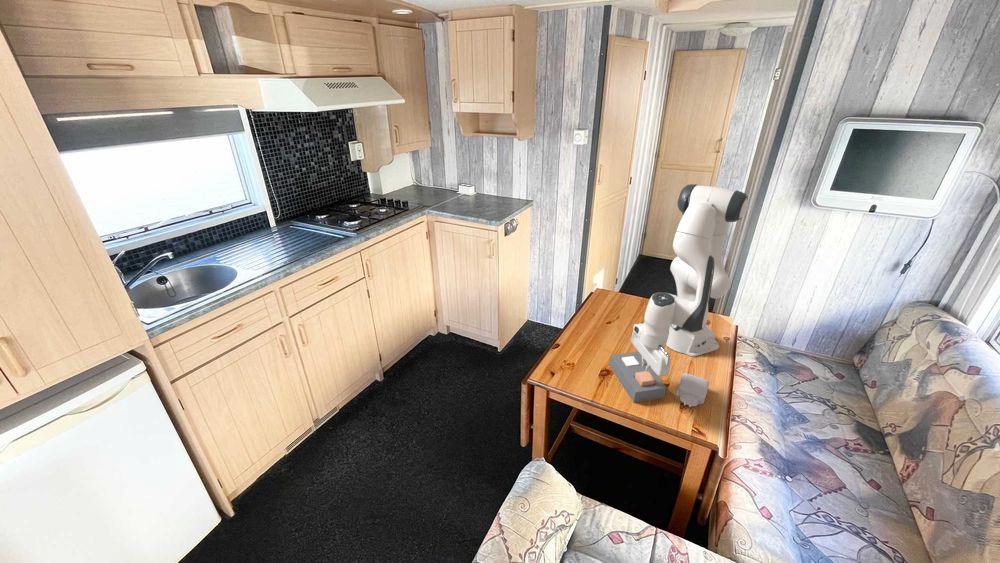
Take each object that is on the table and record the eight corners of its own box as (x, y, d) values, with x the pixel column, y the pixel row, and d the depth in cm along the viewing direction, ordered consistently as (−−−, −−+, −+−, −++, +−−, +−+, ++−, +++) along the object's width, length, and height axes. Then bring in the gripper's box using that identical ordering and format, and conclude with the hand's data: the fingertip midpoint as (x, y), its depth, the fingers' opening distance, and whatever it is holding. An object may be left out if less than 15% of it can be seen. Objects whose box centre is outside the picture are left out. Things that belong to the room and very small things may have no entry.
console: (636, 361, 165) (638, 351, 162) (663, 397, 146) (666, 387, 144) (608, 365, 163) (610, 355, 160) (633, 402, 144) (635, 392, 142)
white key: (632, 362, 161) (633, 356, 159) (638, 370, 156) (639, 364, 155) (620, 363, 160) (621, 357, 159) (626, 371, 156) (627, 365, 154)
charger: (672, 405, 143) (680, 381, 154) (699, 416, 139) (706, 390, 150) (674, 396, 141) (683, 371, 152) (703, 406, 137) (710, 381, 148)
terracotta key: (646, 377, 150) (648, 370, 149) (653, 386, 146) (655, 379, 145) (634, 378, 150) (635, 372, 148) (640, 388, 145) (642, 381, 144)
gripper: (679, 355, 130) (669, 387, 136) (647, 320, 147) (640, 351, 154) (661, 357, 128) (652, 389, 135) (631, 322, 146) (625, 352, 153)
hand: (645, 368), depth 144 cm, fingers closed
